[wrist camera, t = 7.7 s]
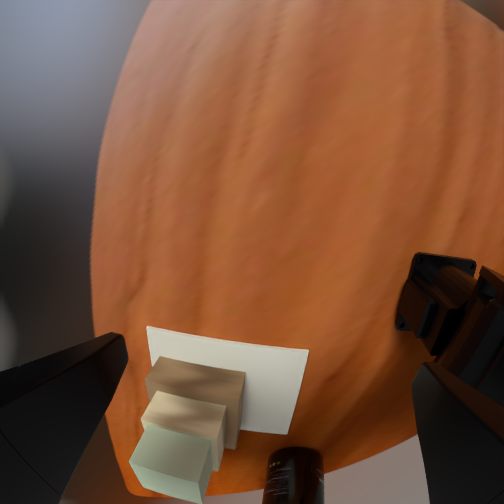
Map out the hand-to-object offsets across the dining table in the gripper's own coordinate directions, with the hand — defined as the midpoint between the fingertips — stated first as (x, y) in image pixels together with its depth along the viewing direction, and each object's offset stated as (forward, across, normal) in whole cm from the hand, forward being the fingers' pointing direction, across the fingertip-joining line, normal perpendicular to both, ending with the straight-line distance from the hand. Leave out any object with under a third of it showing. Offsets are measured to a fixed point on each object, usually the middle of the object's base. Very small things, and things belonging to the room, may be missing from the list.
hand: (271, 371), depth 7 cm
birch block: (+9, +6, +16) cm, 19 cm away
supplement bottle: (+13, -4, +27) cm, 30 cm away
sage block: (+6, +6, +15) cm, 18 cm away
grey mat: (+13, +4, +14) cm, 20 cm away
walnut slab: (+13, +6, +16) cm, 21 cm away
